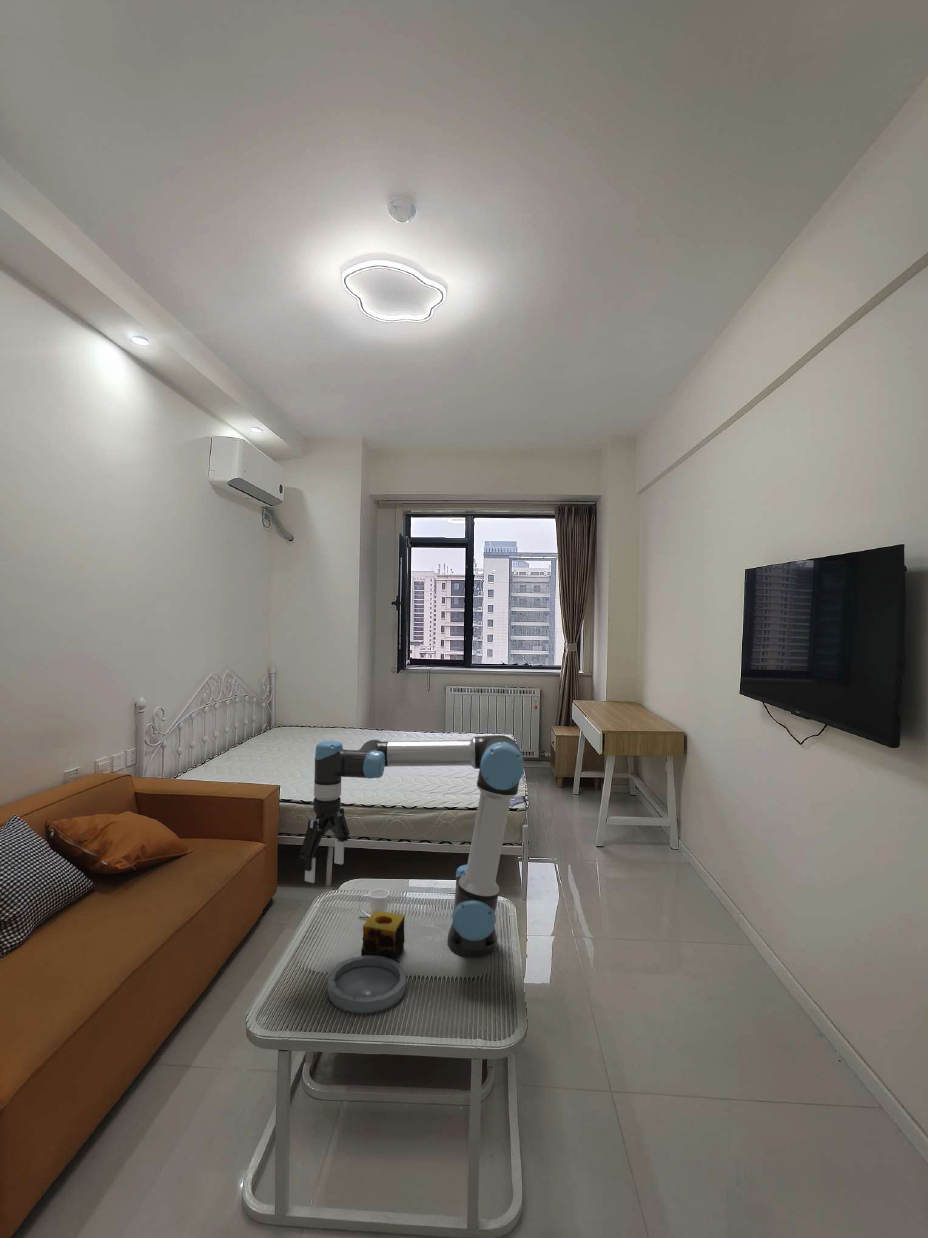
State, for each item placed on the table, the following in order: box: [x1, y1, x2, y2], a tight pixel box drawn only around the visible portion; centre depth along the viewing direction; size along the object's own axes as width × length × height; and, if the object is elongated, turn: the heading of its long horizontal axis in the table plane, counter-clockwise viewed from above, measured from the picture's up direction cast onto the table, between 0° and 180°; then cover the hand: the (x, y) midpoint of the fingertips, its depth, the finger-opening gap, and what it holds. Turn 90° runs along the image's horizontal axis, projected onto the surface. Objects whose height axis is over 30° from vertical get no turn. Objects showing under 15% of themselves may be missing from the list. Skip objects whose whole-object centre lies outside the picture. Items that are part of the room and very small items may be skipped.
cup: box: [358, 888, 391, 919], centre depth 191 cm, size 7×10×8 cm
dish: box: [326, 955, 407, 1015], centre depth 154 cm, size 20×20×3 cm
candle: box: [360, 911, 406, 963], centre depth 170 cm, size 10×10×10 cm
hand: (324, 872), depth 166 cm, fingers open, 13 cm apart
